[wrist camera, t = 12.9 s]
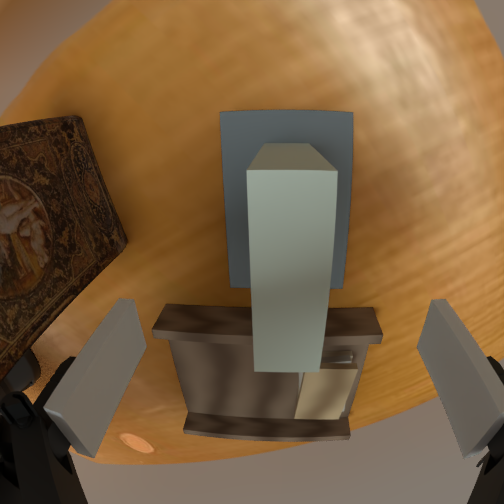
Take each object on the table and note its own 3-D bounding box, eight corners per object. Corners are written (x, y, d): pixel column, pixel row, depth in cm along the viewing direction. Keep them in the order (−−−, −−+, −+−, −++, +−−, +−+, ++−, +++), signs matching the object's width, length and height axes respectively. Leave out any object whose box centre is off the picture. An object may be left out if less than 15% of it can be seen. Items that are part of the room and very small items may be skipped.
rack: (191, 408, 44) (184, 433, 40) (166, 303, 36) (151, 329, 31) (345, 413, 42) (348, 439, 37) (372, 307, 34) (383, 334, 29)
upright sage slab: (266, 263, 32) (254, 371, 18) (264, 143, 27) (246, 170, 13) (306, 263, 32) (319, 372, 18) (308, 143, 27) (337, 171, 13)
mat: (230, 285, 34) (230, 287, 34) (220, 112, 26) (219, 112, 26) (341, 286, 33) (342, 288, 32) (352, 112, 25) (353, 112, 25)
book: (46, 130, 28) (-144, 196, 5) (79, 108, 27) (-138, 158, 4) (95, 255, 34) (-46, 404, 11) (130, 244, 33) (-22, 415, 10)
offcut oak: (294, 413, 37) (294, 418, 36) (305, 362, 33) (306, 368, 32) (337, 413, 37) (338, 419, 36) (356, 363, 33) (358, 369, 32)
